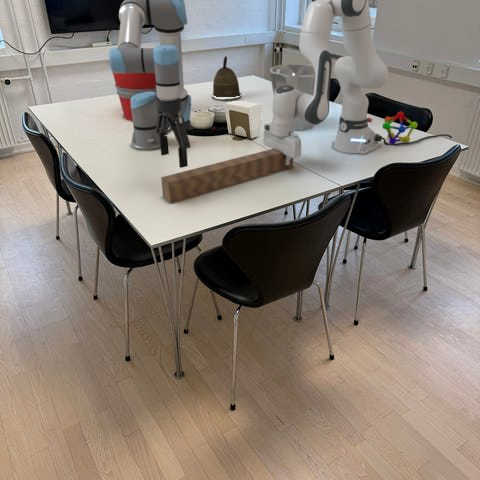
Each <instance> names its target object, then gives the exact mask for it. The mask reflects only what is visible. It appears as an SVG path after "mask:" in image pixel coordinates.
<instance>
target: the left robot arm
mask: <svg viewBox="0 0 480 480" xmlns="http://www.w3.org/2000/svg"><path fill="white" fill-rule="evenodd" d="M118 18H119V22H120V25H119V34H118V41H117V47H115V48H111V49H109V50H108V61H109V62H110V63H109V62H108V63H109V65H110V66H109V67H110V70H111V72H112V73H113V72H114V73H123V74H125V73H155V76H156V90H157V94H156V92H143V93H139V94H136V95H134V96H133V97H132V98H131V110H132V118H133V121H132V125H133V132H132V135H131V147H132V148H134V149H135V150H141V151H151V150H153V151H154V150H157V149H160V155H161V156H166V155H167V156H168V155H169V154H170V151H169V140H168V139H169V137H168V133H170V132H171V131H172V132H173V135H174V138H175V140H176V142H177V145H178V148H177V151H178V163H179V164H178V165H179V168H180V169H181V168H182V169H183V168H186V167H189V164H188V163H189V162H188V149H191V143H190V138H189V135H188V131H187V129H186V125H185V122H188V121H189V120H190V118H191V114H190V113H191V112H192V95H191V94H188V90H187V89H186V88H185V84H184V83H185V82H184V70H183V69H184V68H183V54H182V53H183V51H182V38H181V37H182V35H181V33H182V32H183V31H185V26H186V25H187V24H188V16H187V10H186V5H185V0H123V1H122V3H121V5H120V7H119V9H118ZM145 25H149V26H150V25H152V26H154V31H155V32H156V33H158V38H159V39H158V40H159V45H156V46H154V47H142V34H143V26H145ZM198 110H199V111H200V112H201V109H198Z"/></svg>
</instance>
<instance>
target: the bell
mask: <svg viewBox="0 0 480 480" xmlns="http://www.w3.org/2000/svg"><path fill="white" fill-rule="evenodd" d="M227 63H228V57H227V56H224V58H223V63H222V67H221V68H219V69H218V70H217V71H216V73H215V75H214V78H213V81H212V83H213V84H212V95H214V96H216V97H236V96H240V95H241V96H242V93H241V92H240V83H239V80H238V79H239V78H238V77H237V75H236V73H235V72H234V70H232V69H231V68H230V67H227Z"/></svg>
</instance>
